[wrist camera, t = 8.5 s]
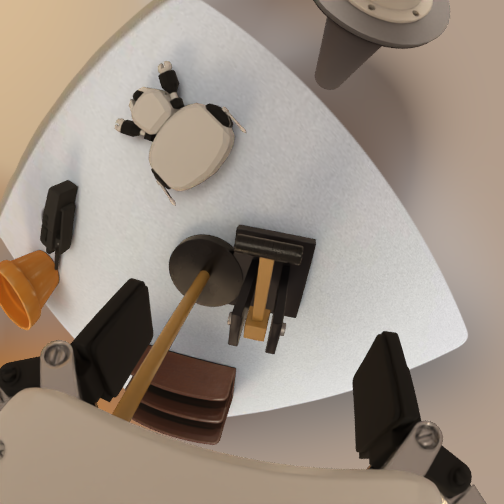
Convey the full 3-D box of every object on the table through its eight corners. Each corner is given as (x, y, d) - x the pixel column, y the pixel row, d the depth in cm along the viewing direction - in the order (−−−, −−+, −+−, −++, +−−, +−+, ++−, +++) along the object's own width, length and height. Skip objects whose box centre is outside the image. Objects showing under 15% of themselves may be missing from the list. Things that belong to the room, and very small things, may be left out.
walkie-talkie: (44, 194, 32) (38, 284, 41) (81, 198, 36) (67, 285, 46) (48, 174, 35) (39, 261, 45) (81, 179, 40) (65, 262, 49)
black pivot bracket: (239, 224, 36) (207, 275, 25) (315, 239, 35) (318, 298, 24) (230, 298, 42) (204, 360, 31) (296, 311, 41) (289, 379, 30)
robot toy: (123, 127, 33) (190, 202, 36) (102, 129, 29) (174, 211, 32) (177, 59, 28) (258, 135, 30) (160, 51, 24) (248, 135, 26)
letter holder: (233, 394, 54) (217, 451, 41) (148, 370, 56) (121, 418, 43) (236, 367, 49) (217, 430, 37) (140, 340, 51) (107, 392, 39)
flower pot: (78, 292, 49) (40, 331, 38) (48, 298, 53) (15, 330, 42) (47, 231, 44) (1, 262, 32) (21, 246, 48) (-17, 274, 36)
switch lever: (240, 225, 22) (232, 246, 20) (304, 238, 21) (302, 260, 20) (236, 316, 31) (230, 334, 29) (279, 325, 30) (276, 344, 29)
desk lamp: (179, 212, 37) (-47, 459, 4) (267, 252, 37) (156, 593, 4) (160, 283, 43) (18, 490, 10) (233, 318, 44) (143, 561, 10)
